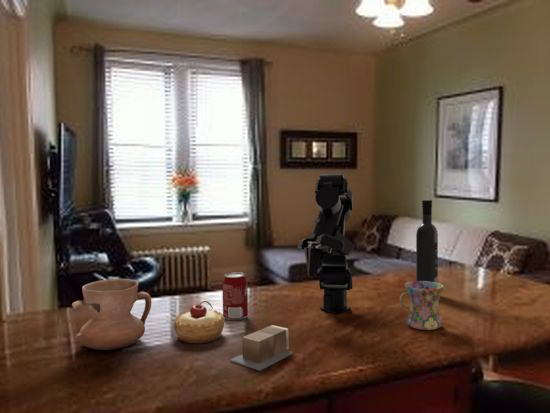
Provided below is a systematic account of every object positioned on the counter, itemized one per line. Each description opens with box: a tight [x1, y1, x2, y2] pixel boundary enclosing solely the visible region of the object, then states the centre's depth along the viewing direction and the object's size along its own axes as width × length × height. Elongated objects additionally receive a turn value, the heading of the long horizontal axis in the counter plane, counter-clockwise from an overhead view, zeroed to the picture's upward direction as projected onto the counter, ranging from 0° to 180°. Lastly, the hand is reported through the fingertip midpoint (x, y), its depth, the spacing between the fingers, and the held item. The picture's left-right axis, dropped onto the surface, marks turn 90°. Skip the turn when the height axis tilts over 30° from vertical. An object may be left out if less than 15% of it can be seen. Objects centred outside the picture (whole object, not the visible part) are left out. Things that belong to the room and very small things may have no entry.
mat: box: [230, 349, 294, 372], centre depth 100 cm, size 11×8×1 cm
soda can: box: [221, 272, 249, 322], centre depth 128 cm, size 7×7×12 cm
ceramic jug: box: [71, 278, 152, 351], centre depth 109 cm, size 18×14×14 cm
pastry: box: [173, 300, 226, 344], centre depth 113 cm, size 12×12×9 cm
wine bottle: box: [415, 199, 439, 283], centre depth 147 cm, size 6×6×30 cm
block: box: [241, 324, 290, 363], centre depth 101 cm, size 4×4×10 cm
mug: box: [398, 280, 445, 331], centre depth 117 cm, size 12×9×11 cm
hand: (310, 277), depth 119 cm, fingers closed
